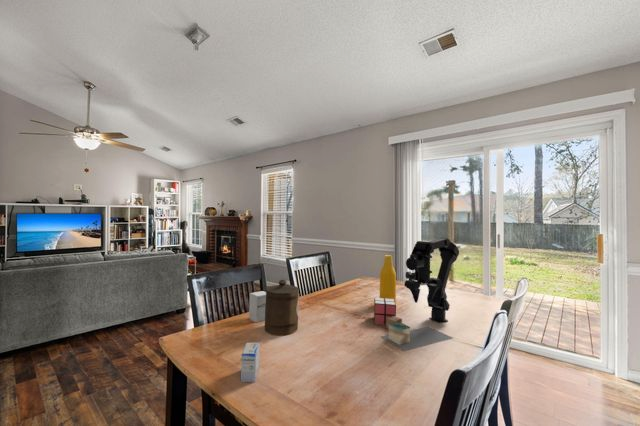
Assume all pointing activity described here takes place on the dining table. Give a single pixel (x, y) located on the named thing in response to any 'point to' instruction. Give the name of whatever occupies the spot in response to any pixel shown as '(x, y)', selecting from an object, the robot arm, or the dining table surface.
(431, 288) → the robot arm
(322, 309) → the dining table surface
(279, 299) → the wooden container
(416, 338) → the rubber mat
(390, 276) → the beer bottle
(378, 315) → the puzzle cube
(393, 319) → the walnut cube
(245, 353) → the medicine box
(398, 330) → the beech cube
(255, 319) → the supplement box
